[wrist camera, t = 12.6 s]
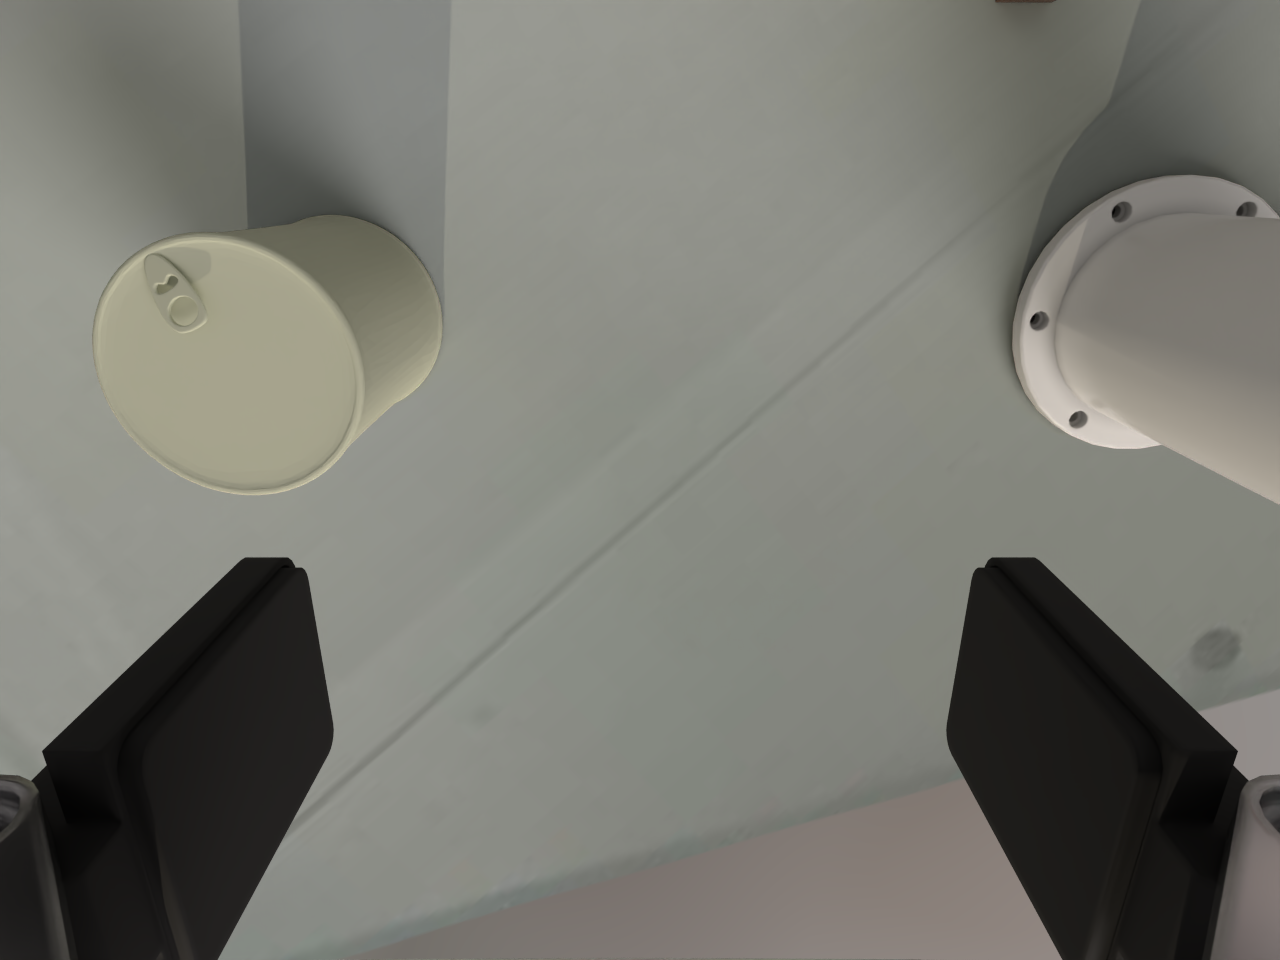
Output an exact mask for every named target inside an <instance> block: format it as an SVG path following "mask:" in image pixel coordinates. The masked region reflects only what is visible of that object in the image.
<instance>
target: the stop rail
mask: <svg viewBox="0 0 1280 960" xmlns="http://www.w3.org/2000/svg"><path fill="white" fill-rule="evenodd" d="M1053 1H1056V0H995V2H1053Z"/></svg>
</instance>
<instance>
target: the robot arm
mask: <svg viewBox="0 0 1280 960" xmlns="http://www.w3.org/2000/svg"><path fill="white" fill-rule="evenodd" d="M1114 207H1115V213H1114V215H1113V216H1112V210H1113V208H1114ZM1034 314H1035V320H1034V321H1033V322H1031V323H1030V320H1031V318H1032V316H1033V315H1034ZM1012 350H1013V356H1014V362H1015V367H1016V372H1017V375H1018V377H1019V380H1020V382H1021V384H1022V387H1023V389H1024V392H1025V394H1026V395H1027V396H1028V398H1029V399H1030V401H1031V402H1032V403H1033V405H1034V406H1035V408H1036V409H1037V410H1038V411H1039V412H1040V413H1041V414H1042V415H1043V416H1044V417H1045V418H1047V419H1048V420H1049V421H1050V422H1051V423H1052V424H1053V425H1055V426H1056V427H1058V428H1060V429H1061V430H1063V431H1064V432H1066V433H1068V434H1069V435H1071V436H1074V437H1076V438H1078V439H1081V440H1083V441H1086V442H1088V443H1090V444H1094V445H1099V446H1104V447H1110V448H1115V449H1139V448H1145V447H1151V446H1157V445H1164V446H1166V447H1168V448H1170V449H1172V450H1174V451H1176V452H1178V453H1180V454H1181V455H1183V456H1185V457H1187V458H1189V459H1191V460H1193V461H1195V462H1197V463H1199V464H1201V465H1203V466H1205V467H1207V468H1209V469H1211V470H1213V471H1215V472H1217V473H1219V474H1220V475H1222V476H1224V477H1226V478H1228V479H1230V480H1232V481H1234V482H1236V483H1238V484H1240V485H1242V486H1244V487H1246V488H1248V489H1250V490H1252V491H1254V492H1256V493H1258V494H1259V495H1261V496H1263V497H1265V498H1267V499H1269V500H1271V501H1273V502H1275V503H1277V504H1279V505H1280V217H1279V216H1278V214H1277V213H1276V212H1275V211H1274V210H1273V209H1272V208H1271V207H1270V206H1269V205H1268V204H1267V203H1266V202H1265V200H1264V199H1262V198H1261V197H1259V196H1258V195H1256V194H1254V193H1253V192H1251V191H1250V190H1248V189H1247V188H1245V187H1244V186H1242V185H1239V184H1236V183H1233V182H1230V181H1227V180H1224V179H1221V178H1217V177H1208V176H1198V175H1167V176H1161V177H1156V178H1151V179H1146V180H1141V181H1137V182H1135V183H1132V184H1130V185H1127V186H1125V187H1122V188H1119V189H1117V190H1114V191H1112V192H1110V193H1108V194H1107V195H1105V196H1103V197H1102V198H1100V199H1098V200H1097V201H1095V202H1093V203H1092V204H1090V205H1088V206H1087V207H1085V208H1084V209H1083V210H1082V211H1081V212H1079V213H1078V214H1077V215H1076V216H1075V217H1073V218H1072V219H1071V220H1070V221H1069V222H1068V223H1066V224H1065V225H1064V226H1063V227H1062V228H1061V229H1060V230H1059V232H1058V233H1057V234H1056V235H1055V236H1054V237H1053V239H1052V240H1051V241H1050V242H1049V243H1048V244H1047V246H1046V247H1045V248H1044V249H1043V251H1042V252H1041V254H1040V256H1039V257H1038V259H1037V261H1036V262H1035V264H1034V265H1033V267H1032V269H1031V270H1030V272H1029V274H1028V276H1027V279H1026V281H1025V284H1024V286H1023V289H1022V291H1021V293H1020V296H1019V298H1018V303H1017V307H1016V312H1015V317H1014V321H1013V339H1012ZM1072 414H1073V416H1072V417H1071V415H1072ZM1070 417H1071V418H1070ZM333 731H334V729H333V720H332V715H331V709H330V703H329V697H328V691H327V685H326V680H325V674H324V668H323V662H322V656H321V650H320V645H319V639H318V633H317V627H316V621H315V615H314V610H313V604H312V598H311V592H310V586H309V580H308V576H307V573H306V571H305V570H304V569H303V568H295V565H294V564H293V562H292V560H291V559H289V558H244V559H242V560H241V561H240V562H238V563H237V564H236V565H235V566H234V567H233V568H232V569H231V570H230V571H229V572H228V573H227V574H226V575H225V576H224V577H223V578H222V579H221V580H220V581H219V582H218V583H217V584H216V585H215V586H214V587H212V588H211V589H210V590H209V591H208V592H207V593H206V594H205V595H204V596H203V597H202V598H201V599H200V600H199V601H198V602H197V603H196V604H195V605H194V606H193V607H192V608H191V609H190V610H189V611H187V612H186V613H185V614H184V615H183V616H182V617H181V618H180V619H179V620H178V621H177V622H176V623H175V624H174V625H173V626H172V627H171V628H170V629H169V630H168V631H167V632H166V633H165V634H164V635H162V636H161V637H160V638H159V639H158V640H157V641H156V642H155V643H154V644H153V645H152V646H151V647H150V648H149V649H148V650H147V651H146V652H145V653H144V654H143V655H142V656H141V657H140V658H139V659H137V660H136V661H135V662H134V663H133V664H132V665H131V666H130V667H129V668H128V669H127V670H126V671H125V672H124V673H123V674H122V675H121V676H120V677H119V678H118V679H117V680H116V681H115V682H114V683H112V684H111V685H110V686H109V687H108V688H107V689H106V690H105V691H104V692H103V693H102V694H101V695H100V696H99V697H98V698H97V699H96V700H95V701H94V702H93V703H92V704H91V705H90V706H89V707H87V708H86V709H85V710H84V711H83V712H82V713H81V714H80V715H79V716H78V717H77V718H76V719H75V720H74V721H73V722H72V723H71V724H70V725H69V726H68V727H67V728H66V729H65V730H64V731H62V732H61V733H60V734H59V735H58V736H57V737H56V738H55V739H54V740H53V741H52V742H51V743H50V744H49V745H48V746H47V747H46V748H45V749H44V750H43V751H42V752H43V755H44V758H45V761H46V764H47V766H46V767H45V768H44V769H43V770H42V771H41V772H40V773H39V774H38V775H37V776H36V777H35V778H34V779H33V780H32V781H30V780H28V779H25V778H23V777H21V776H15V775H0V960H218V958H219V956H220V954H221V952H222V950H223V949H224V947H225V945H226V943H227V941H228V939H229V938H230V936H231V934H232V932H233V930H234V928H235V926H236V925H237V923H238V921H239V919H240V917H241V915H242V913H243V912H244V910H245V908H246V906H247V904H248V902H249V900H250V899H251V897H252V895H253V893H254V891H255V889H256V887H257V886H258V884H259V882H260V880H261V878H262V876H263V875H264V873H265V871H266V869H267V867H268V865H269V863H270V862H271V860H272V858H273V856H274V854H275V852H276V850H277V849H278V847H279V845H280V843H281V841H282V839H283V837H284V836H285V834H286V832H287V830H288V828H289V826H290V824H291V823H292V821H293V819H294V817H295V815H296V813H297V812H298V810H299V808H300V806H301V804H302V802H303V800H304V799H305V797H306V795H307V793H308V791H309V789H310V787H311V786H312V784H313V782H314V780H315V778H316V776H317V774H318V773H319V771H320V769H321V767H322V765H323V763H324V762H325V760H326V758H327V756H328V754H329V752H330V749H331V746H332V741H333ZM946 731H947V741H948V746H949V749H950V752H951V754H952V756H953V758H954V760H955V762H956V763H957V765H958V767H959V769H960V771H961V773H962V774H963V776H964V778H965V780H966V782H967V784H968V785H969V787H970V789H971V791H972V793H973V795H974V797H975V799H976V800H977V802H978V804H979V806H980V808H981V810H982V812H983V813H984V815H985V817H986V819H987V821H988V823H989V825H990V826H991V828H992V830H993V832H994V834H995V836H996V837H997V839H998V841H999V843H1000V845H1001V847H1002V849H1003V850H1004V852H1005V854H1006V856H1007V858H1008V860H1009V862H1010V863H1011V865H1012V867H1013V869H1014V871H1015V873H1016V875H1017V876H1018V878H1019V880H1020V882H1021V884H1022V886H1023V887H1024V889H1025V891H1026V893H1027V895H1028V897H1029V899H1030V900H1031V902H1032V904H1033V906H1034V908H1035V910H1036V912H1037V913H1038V915H1039V917H1040V919H1041V921H1042V923H1043V925H1044V926H1045V928H1046V930H1047V932H1048V934H1049V936H1050V937H1051V939H1052V941H1053V943H1054V945H1055V947H1056V949H1057V950H1058V952H1059V954H1060V956H1061V958H1062V960H1280V775H1265V776H1259V777H1257V778H1255V779H1252V780H1250V781H1248V780H1247V779H1246V778H1245V777H1244V776H1243V775H1242V774H1241V773H1240V772H1239V771H1238V770H1237V769H1236V768H1235V767H1234V766H1233V764H1234V761H1235V758H1236V755H1237V752H1238V751H1237V750H1236V749H1235V748H1234V747H1233V746H1232V745H1231V744H1230V743H1229V742H1228V741H1227V740H1226V739H1225V738H1224V737H1223V736H1222V735H1221V734H1220V733H1219V732H1218V731H1216V730H1215V729H1214V728H1213V727H1212V726H1211V725H1210V724H1209V723H1208V722H1207V721H1206V720H1205V719H1204V718H1203V717H1202V716H1201V715H1200V714H1199V713H1198V712H1197V711H1196V710H1195V709H1194V708H1193V707H1191V706H1190V705H1189V704H1188V703H1187V702H1186V701H1185V700H1184V699H1183V698H1182V697H1181V696H1180V695H1179V694H1178V693H1177V692H1176V691H1175V690H1174V689H1173V688H1172V687H1171V686H1170V685H1169V684H1168V683H1166V682H1165V681H1164V680H1163V679H1162V678H1161V677H1160V676H1159V675H1158V674H1157V673H1156V672H1155V671H1154V670H1153V669H1152V668H1151V667H1150V666H1149V665H1148V664H1147V663H1146V662H1145V661H1144V660H1143V659H1141V658H1140V657H1139V656H1138V655H1137V654H1136V653H1135V652H1134V651H1133V650H1132V649H1131V648H1130V647H1129V646H1128V645H1127V644H1126V643H1125V642H1124V641H1123V640H1122V639H1121V638H1120V637H1119V636H1118V635H1116V634H1115V633H1114V632H1113V631H1112V630H1111V629H1110V628H1109V627H1108V626H1107V625H1106V624H1105V623H1104V622H1103V621H1102V620H1101V619H1100V618H1099V617H1098V616H1097V615H1096V614H1095V613H1094V612H1093V611H1091V610H1090V609H1089V608H1088V607H1087V606H1086V605H1085V604H1084V603H1083V602H1082V601H1081V600H1080V599H1079V598H1078V597H1077V596H1076V595H1075V594H1074V593H1073V592H1072V591H1071V590H1070V589H1069V588H1068V587H1066V586H1065V585H1064V584H1063V583H1062V582H1061V581H1060V580H1059V579H1058V578H1057V577H1056V576H1055V575H1054V574H1053V573H1052V572H1051V571H1050V570H1049V569H1048V568H1047V567H1046V566H1045V565H1044V564H1043V563H1041V562H1040V561H1039V560H1038V559H1036V558H991V559H989V560H988V562H987V564H986V565H985V568H977V569H976V570H975V571H974V573H973V576H972V580H971V586H970V592H969V598H968V604H967V610H966V615H965V621H964V627H963V633H962V639H961V645H960V650H959V656H958V662H957V668H956V674H955V680H954V685H953V691H952V697H951V703H950V709H949V715H948V720H947V729H946ZM361 960H917V959H734V958H550V959H548V958H547V959H546V958H545V959H361ZM918 960H919V959H918Z"/></svg>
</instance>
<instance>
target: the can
mask: <svg viewBox="0 0 1280 960" xmlns="http://www.w3.org/2000/svg"><path fill="white" fill-rule="evenodd" d="M442 329H443V323H442V312H441V306H440V301H439V297H438V295H437V292H436V289H435V286H434V284H433V281H432V280H431V278H430V276H429V274H428V272H427V270H426V269H425V267H424V266H423V264H422V263H421V262H420V260H419V259H418V258H417V256H416V255H415V254H414V253H413V252H412V251H411V250H410V249H409V248H408V247H407V246H406V245H405V244H404V243H403V242H402V241H400V240H399V239H398V238H397V237H395V236H394V235H392V234H391V233H389V232H388V231H386V230H384V229H382V228H381V227H379V226H377V225H375V224H372V223H370V222H367V221H365V220H361V219H358V218H354V217H349V216H342V215H320V216H314V217H309V218H306V219H302V220H300V221H297V222H295V223H293V224H286V225H279V226H272V227H264V228H256V229H247V230H239V231H230V232H219V233H216V232H194V233H185V234H179V235H175V236H171V237H167V238H165V239H162V240H159V241H157V242H154V243H152V244H150V245H148V246H146V247H145V248H143V249H141V250H140V251H138V252H137V253H135V254H134V255H133V256H131V257H130V258H129V259H127V260H126V261H125V262H124V263H123V264H122V265H121V266H120V267H119V268H118V270H117V271H116V272H115V273H114V275H113V276H112V277H111V279H110V281H109V282H108V284H107V286H106V287H105V289H104V291H103V293H102V295H101V297H100V300H99V303H98V306H97V310H96V313H95V318H94V324H93V335H92V344H93V356H94V363H95V368H96V372H97V376H98V380H99V383H100V385H101V388H102V390H103V393H104V395H105V398H106V400H107V402H108V404H109V406H110V407H111V409H112V411H113V413H114V414H115V416H116V418H117V419H118V420H119V422H120V423H121V425H122V426H123V427H124V429H125V430H126V431H127V433H128V434H129V435H130V436H131V437H132V439H133V440H134V441H135V442H136V443H137V444H138V445H139V446H140V447H141V448H142V449H143V450H144V451H145V452H146V453H148V454H149V455H150V456H151V457H152V458H154V459H155V460H156V461H158V462H159V463H160V464H162V465H163V466H164V467H166V468H167V469H169V470H171V471H172V472H174V473H176V474H177V475H179V476H181V477H183V478H185V479H187V480H189V481H191V482H194V483H196V484H199V485H201V486H204V487H207V488H210V489H213V490H217V491H221V492H226V493H233V494H241V495H265V494H274V493H279V492H283V491H287V490H291V489H294V488H296V487H299V486H301V485H304V484H306V483H308V482H310V481H312V480H314V479H315V478H317V477H318V476H320V475H321V474H323V473H324V472H325V471H327V470H328V469H329V468H330V467H331V466H332V465H333V464H334V463H335V462H336V461H337V460H338V459H339V458H340V457H341V456H342V455H343V453H344V452H345V451H346V449H347V448H348V447H349V446H350V445H351V444H352V443H353V442H354V441H355V440H356V439H357V438H358V437H359V436H360V435H361V434H362V433H363V432H364V431H365V430H366V429H367V428H368V427H369V426H370V425H371V424H373V423H374V422H375V421H376V420H377V419H378V418H379V417H380V416H381V415H382V414H383V413H384V412H385V411H387V410H388V409H389V408H390V407H391V406H392V405H393V404H394V403H396V402H398V401H400V400H402V399H403V398H405V397H406V396H408V395H409V394H411V393H412V392H413V391H414V390H415V389H416V388H418V387H419V386H420V384H421V383H422V382H423V381H424V380H425V379H426V377H427V376H428V374H429V373H430V371H431V369H432V367H433V365H434V363H435V361H436V359H437V356H438V353H439V350H440V345H441V340H442Z"/></svg>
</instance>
